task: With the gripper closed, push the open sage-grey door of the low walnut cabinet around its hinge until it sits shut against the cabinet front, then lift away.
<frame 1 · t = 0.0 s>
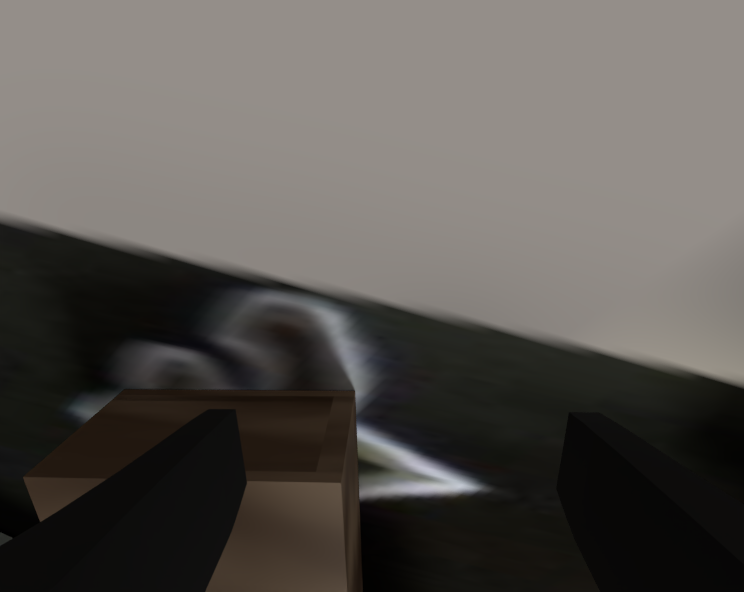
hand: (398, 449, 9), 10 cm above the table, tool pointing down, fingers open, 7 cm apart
walnut cabinet: (258, 523, 23), on the table
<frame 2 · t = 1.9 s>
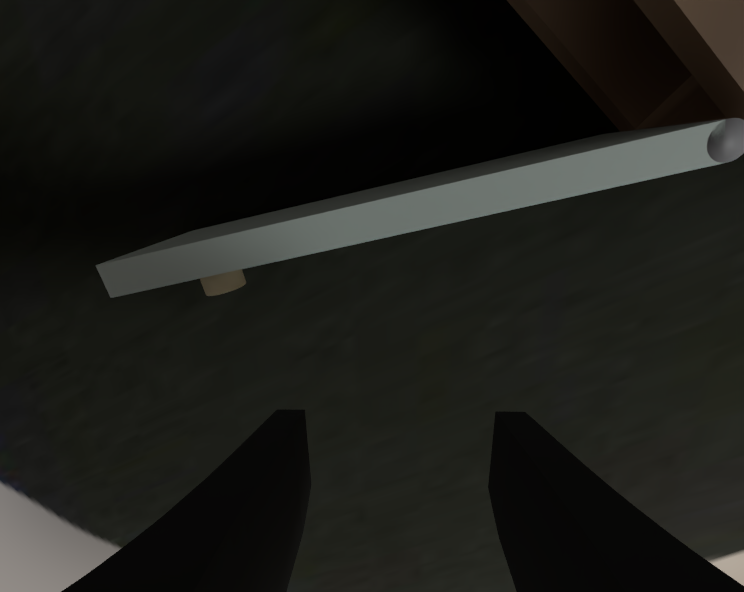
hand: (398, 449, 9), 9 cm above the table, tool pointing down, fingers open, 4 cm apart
cabinet door: (398, 218, 13), point 3 cm above the table, hinge at 55.0°
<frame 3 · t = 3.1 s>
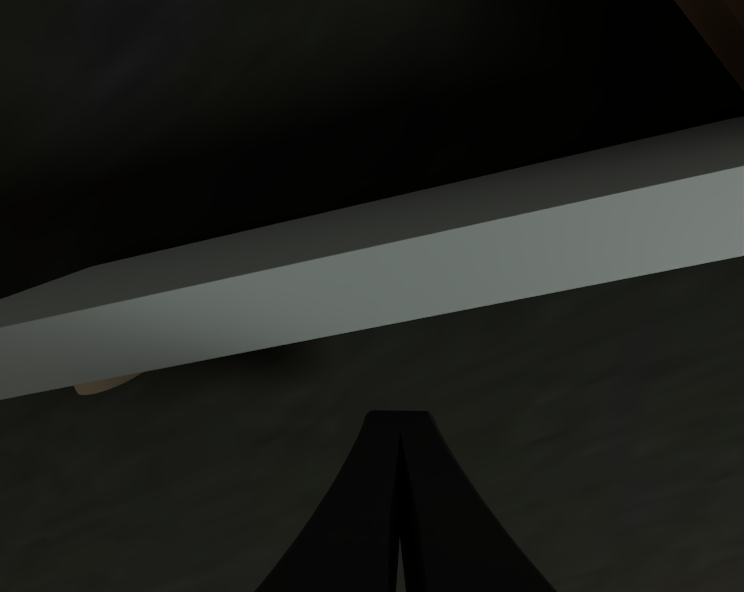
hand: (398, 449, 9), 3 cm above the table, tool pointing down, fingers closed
cabinet door: (405, 261, 8), point 3 cm above the table, hinge at 55.0°
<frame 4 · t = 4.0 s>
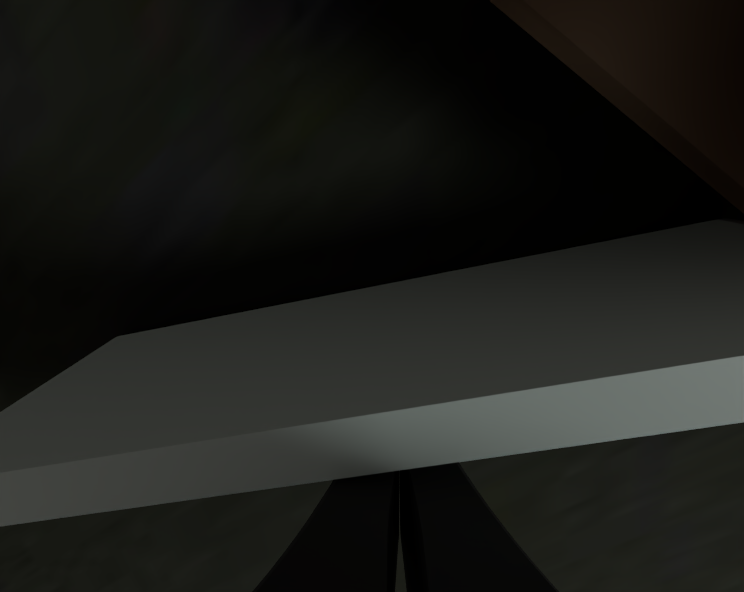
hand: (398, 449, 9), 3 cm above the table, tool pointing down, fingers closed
cabinet door: (413, 365, 8), point 3 cm above the table, hinge at 46.5°, touching gripper
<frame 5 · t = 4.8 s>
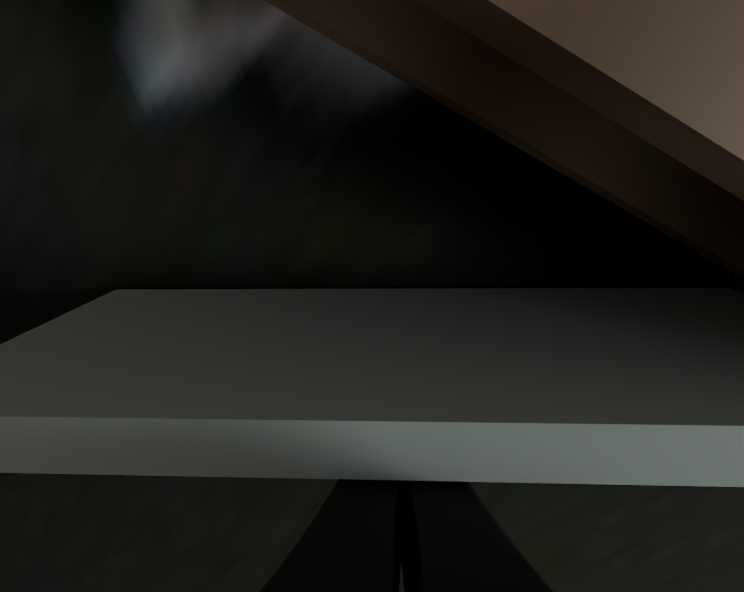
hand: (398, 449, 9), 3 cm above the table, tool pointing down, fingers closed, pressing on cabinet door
cabinet door: (430, 375, 8), point 3 cm above the table, hinge at 28.5°, touching gripper
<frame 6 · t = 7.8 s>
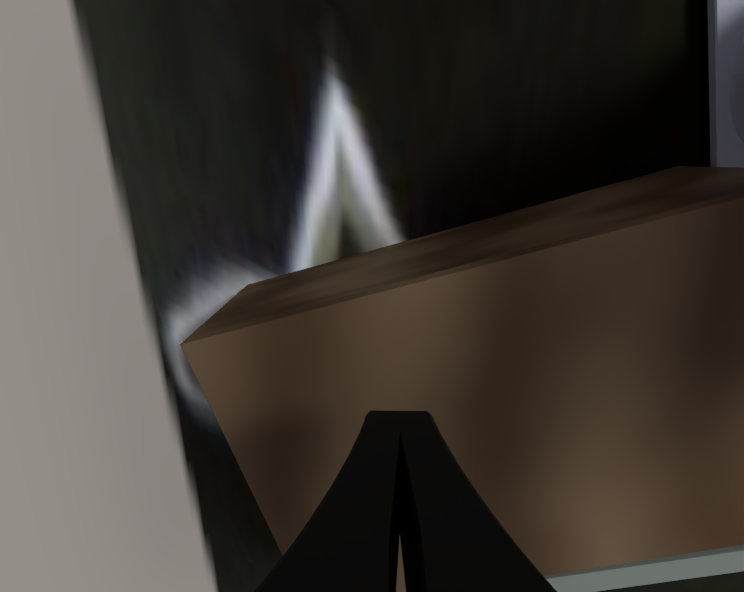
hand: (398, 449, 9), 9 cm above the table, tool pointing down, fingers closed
cabinet door: (520, 529, 17), point 3 cm above the table, hinge at -0.9°
walnut cabinet: (476, 355, 18), on the table
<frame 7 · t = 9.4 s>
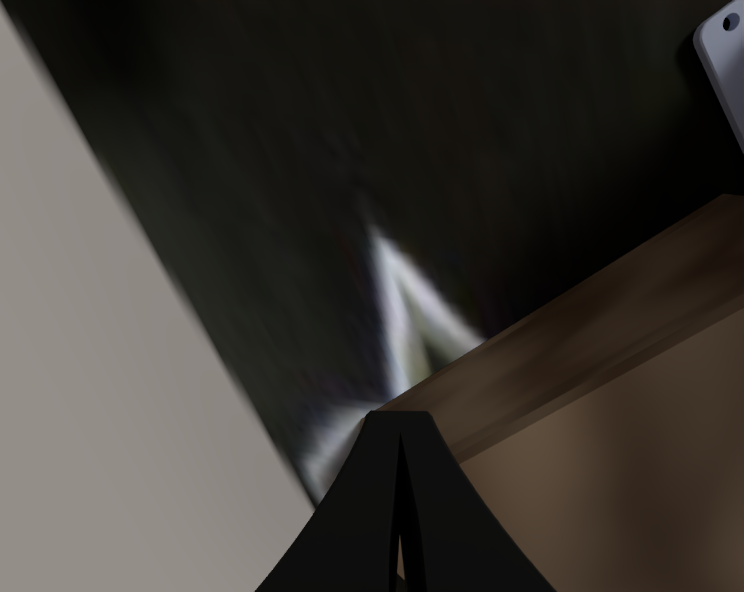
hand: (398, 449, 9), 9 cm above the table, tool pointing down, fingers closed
walnut cabinet: (585, 413, 19), on the table
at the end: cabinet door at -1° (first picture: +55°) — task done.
